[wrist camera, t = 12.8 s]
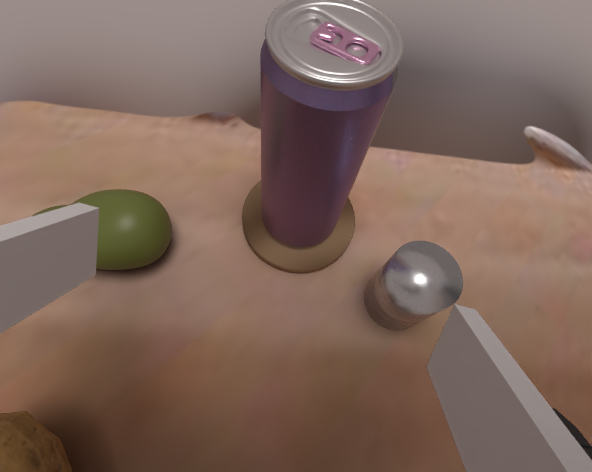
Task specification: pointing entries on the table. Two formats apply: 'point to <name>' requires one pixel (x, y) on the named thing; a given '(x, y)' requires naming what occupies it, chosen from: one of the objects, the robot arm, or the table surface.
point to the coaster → (294, 256)
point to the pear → (127, 228)
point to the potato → (29, 446)
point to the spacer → (413, 285)
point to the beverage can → (320, 109)
